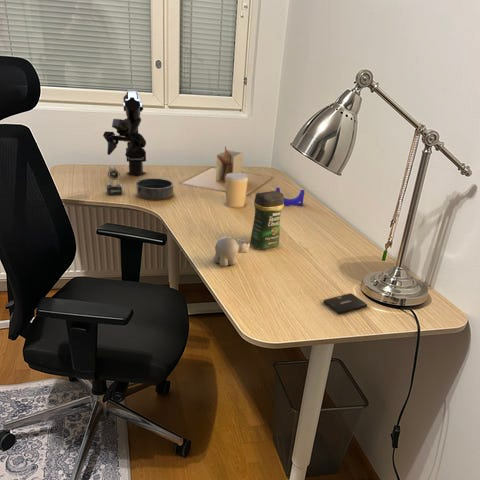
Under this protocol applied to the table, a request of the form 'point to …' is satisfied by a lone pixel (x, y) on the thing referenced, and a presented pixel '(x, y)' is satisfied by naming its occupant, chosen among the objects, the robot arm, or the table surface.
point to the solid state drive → (345, 303)
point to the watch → (114, 182)
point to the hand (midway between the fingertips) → (117, 155)
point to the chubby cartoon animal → (229, 250)
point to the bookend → (225, 165)
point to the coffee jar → (267, 219)
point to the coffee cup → (236, 189)
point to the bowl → (154, 189)
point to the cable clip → (295, 200)
